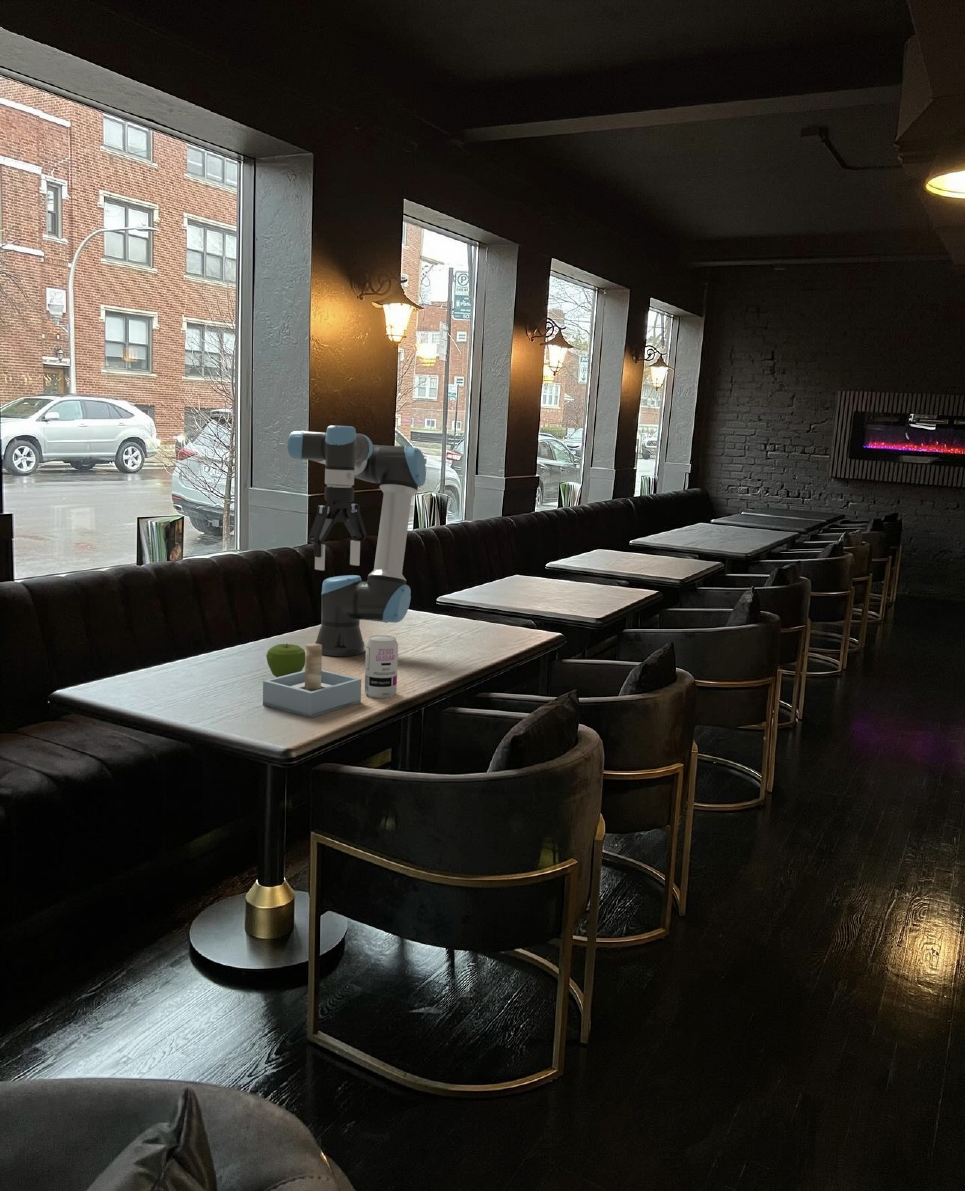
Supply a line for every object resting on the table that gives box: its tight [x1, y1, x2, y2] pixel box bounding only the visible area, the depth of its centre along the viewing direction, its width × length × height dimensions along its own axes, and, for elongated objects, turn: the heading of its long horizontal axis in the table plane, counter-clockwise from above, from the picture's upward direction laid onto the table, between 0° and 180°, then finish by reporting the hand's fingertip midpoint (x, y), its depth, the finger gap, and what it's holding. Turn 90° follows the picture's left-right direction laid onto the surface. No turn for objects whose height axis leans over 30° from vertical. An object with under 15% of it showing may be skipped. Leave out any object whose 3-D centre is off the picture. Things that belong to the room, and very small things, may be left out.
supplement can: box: [364, 634, 399, 699], centre depth 250 cm, size 8×8×15 cm
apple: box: [265, 643, 305, 678], centre depth 260 cm, size 11×10×10 cm
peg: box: [304, 643, 323, 691], centre depth 239 cm, size 4×4×14 cm
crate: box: [262, 669, 362, 718], centre depth 239 cm, size 16×18×6 cm
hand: (337, 567), depth 253 cm, fingers open, 13 cm apart
